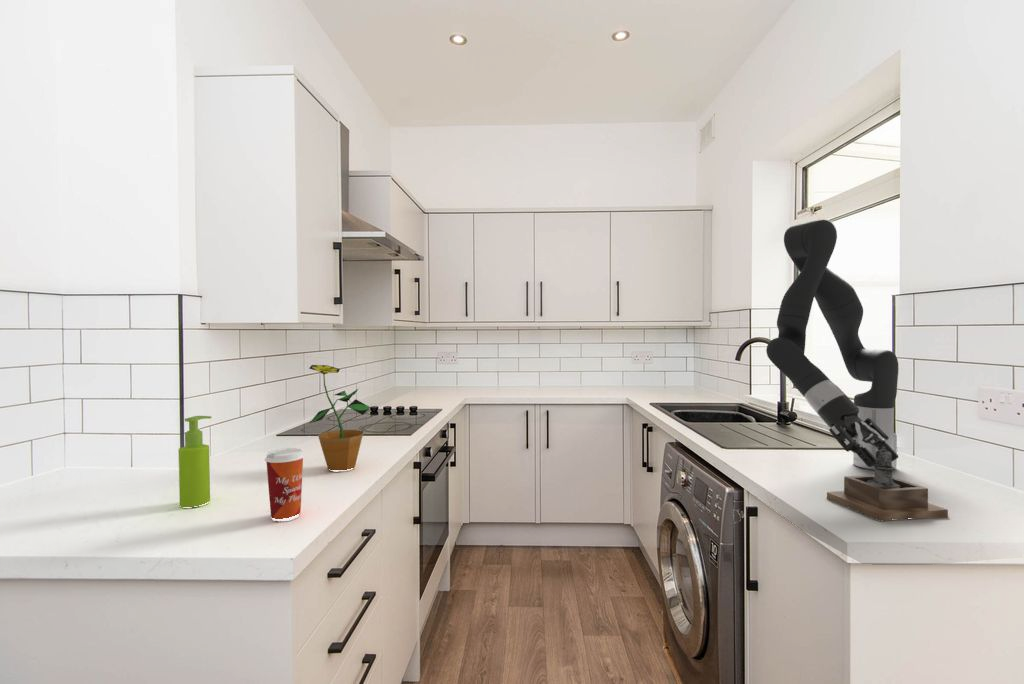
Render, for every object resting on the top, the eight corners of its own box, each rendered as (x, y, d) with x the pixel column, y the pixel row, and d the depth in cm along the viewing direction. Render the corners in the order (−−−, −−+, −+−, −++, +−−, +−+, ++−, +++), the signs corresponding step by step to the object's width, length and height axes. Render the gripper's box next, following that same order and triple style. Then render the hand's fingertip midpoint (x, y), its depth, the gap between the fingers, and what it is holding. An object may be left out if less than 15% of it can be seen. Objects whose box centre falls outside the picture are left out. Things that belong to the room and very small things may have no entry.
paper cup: (280, 527, 100) (278, 457, 100) (258, 519, 104) (256, 453, 104) (313, 514, 107) (312, 449, 107) (291, 508, 111) (290, 445, 111)
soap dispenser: (220, 499, 117) (218, 414, 116) (192, 510, 110) (190, 420, 110) (201, 497, 119) (199, 413, 118) (173, 507, 112) (171, 418, 112)
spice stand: (888, 494, 117) (888, 471, 117) (947, 516, 104) (948, 490, 103) (826, 498, 115) (827, 474, 115) (879, 521, 101) (879, 494, 101)
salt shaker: (906, 505, 106) (906, 449, 106) (875, 503, 107) (875, 448, 107) (890, 496, 112) (891, 443, 112) (861, 495, 113) (862, 442, 113)
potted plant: (314, 482, 130) (312, 367, 129) (304, 465, 146) (302, 363, 145) (382, 472, 139) (381, 364, 138) (365, 457, 155) (364, 361, 154)
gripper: (824, 396, 113) (880, 457, 104) (859, 391, 120) (915, 448, 110) (801, 415, 118) (853, 476, 108) (836, 410, 125) (887, 466, 115)
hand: (884, 462), depth 109 cm, fingers open, 8 cm apart
